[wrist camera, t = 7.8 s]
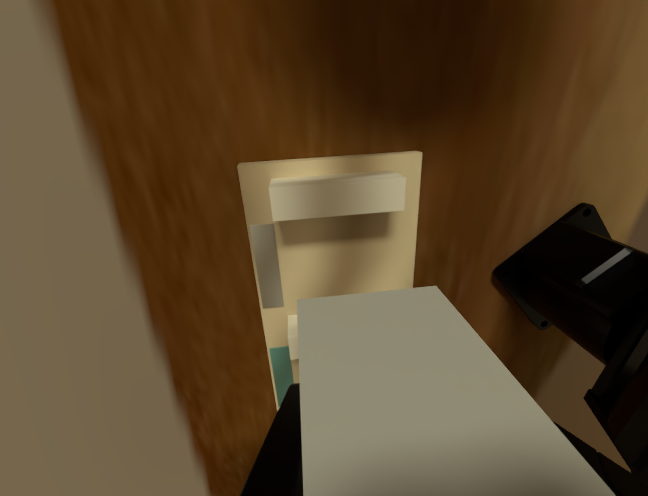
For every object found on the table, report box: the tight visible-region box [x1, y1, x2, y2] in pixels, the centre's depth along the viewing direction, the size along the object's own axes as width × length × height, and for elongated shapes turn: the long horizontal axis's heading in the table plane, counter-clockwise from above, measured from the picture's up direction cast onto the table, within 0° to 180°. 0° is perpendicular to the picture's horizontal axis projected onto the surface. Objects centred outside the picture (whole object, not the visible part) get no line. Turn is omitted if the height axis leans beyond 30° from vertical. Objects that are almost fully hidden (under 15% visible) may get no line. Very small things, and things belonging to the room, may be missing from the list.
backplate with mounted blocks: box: [237, 151, 422, 412], centre depth 18 cm, size 9×19×3 cm, turn 3°
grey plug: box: [297, 286, 616, 496], centre depth 7 cm, size 4×4×8 cm
